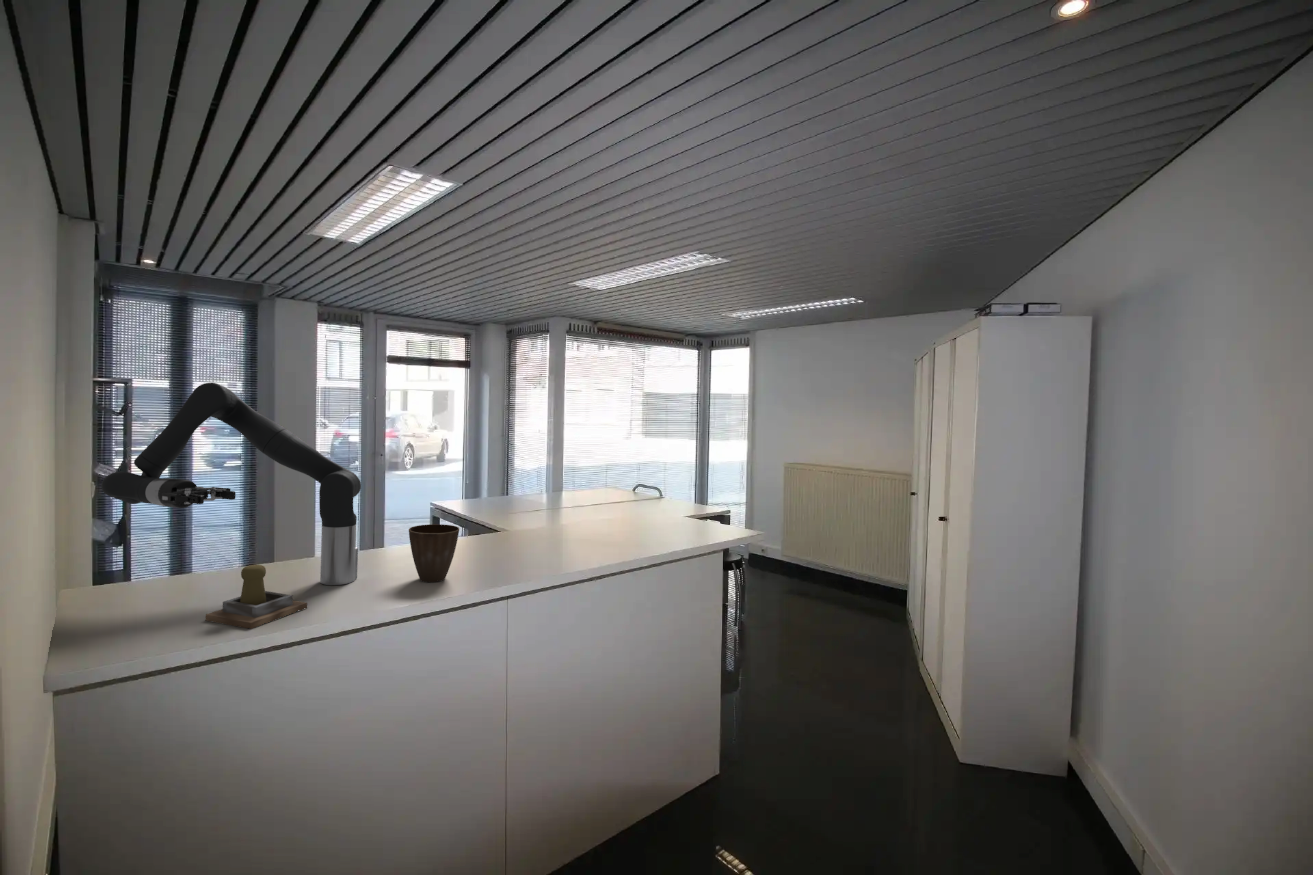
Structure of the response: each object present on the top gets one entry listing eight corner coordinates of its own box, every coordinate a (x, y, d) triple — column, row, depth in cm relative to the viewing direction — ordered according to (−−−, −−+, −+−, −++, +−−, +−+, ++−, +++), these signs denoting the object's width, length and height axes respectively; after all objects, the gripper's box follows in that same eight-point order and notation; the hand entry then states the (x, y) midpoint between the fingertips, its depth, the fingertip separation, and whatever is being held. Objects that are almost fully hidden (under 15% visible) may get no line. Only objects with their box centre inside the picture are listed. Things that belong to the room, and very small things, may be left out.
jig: (264, 601, 161) (264, 586, 161) (306, 608, 157) (307, 593, 157) (205, 620, 146) (205, 604, 145) (250, 628, 142) (251, 612, 142)
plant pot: (404, 574, 192) (406, 524, 191) (453, 570, 199) (455, 523, 198) (409, 587, 179) (411, 534, 178) (461, 583, 186) (463, 532, 185)
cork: (272, 605, 154) (272, 562, 154) (259, 613, 148) (260, 569, 148) (246, 604, 153) (247, 562, 153) (232, 613, 147) (233, 568, 147)
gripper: (143, 481, 154) (191, 486, 149) (198, 476, 167) (244, 480, 163) (142, 510, 154) (191, 516, 150) (198, 502, 168) (244, 508, 163)
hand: (218, 497), depth 156 cm, fingers open, 8 cm apart
